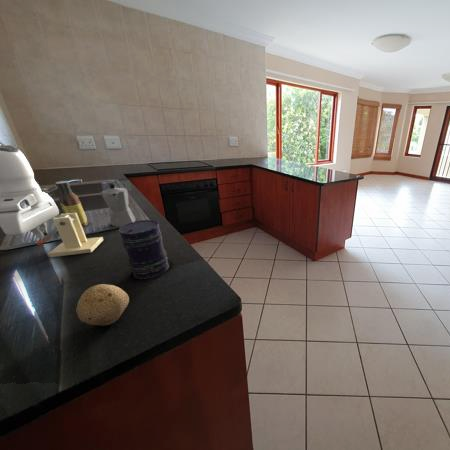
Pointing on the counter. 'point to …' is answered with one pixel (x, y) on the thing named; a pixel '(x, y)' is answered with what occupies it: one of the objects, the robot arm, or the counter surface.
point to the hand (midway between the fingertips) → (43, 236)
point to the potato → (102, 304)
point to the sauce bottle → (70, 202)
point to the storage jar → (144, 248)
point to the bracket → (72, 237)
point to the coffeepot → (118, 206)
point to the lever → (51, 233)
